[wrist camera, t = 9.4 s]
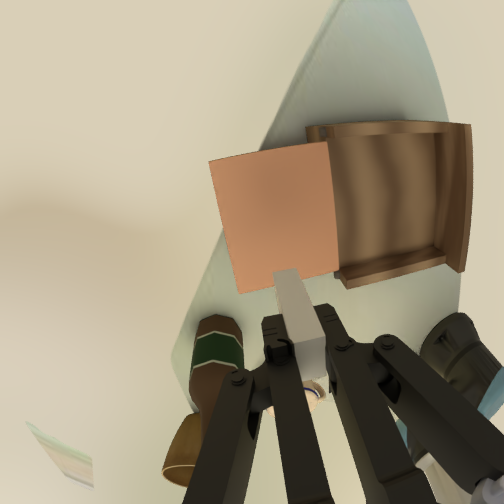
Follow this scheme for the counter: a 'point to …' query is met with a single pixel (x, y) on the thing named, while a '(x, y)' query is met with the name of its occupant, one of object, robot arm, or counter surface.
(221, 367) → the beer bottle
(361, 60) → the counter surface
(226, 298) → the counter surface
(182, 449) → the plant pot
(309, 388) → the teacup with lid
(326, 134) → the tray
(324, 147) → the orange rectangular slab
